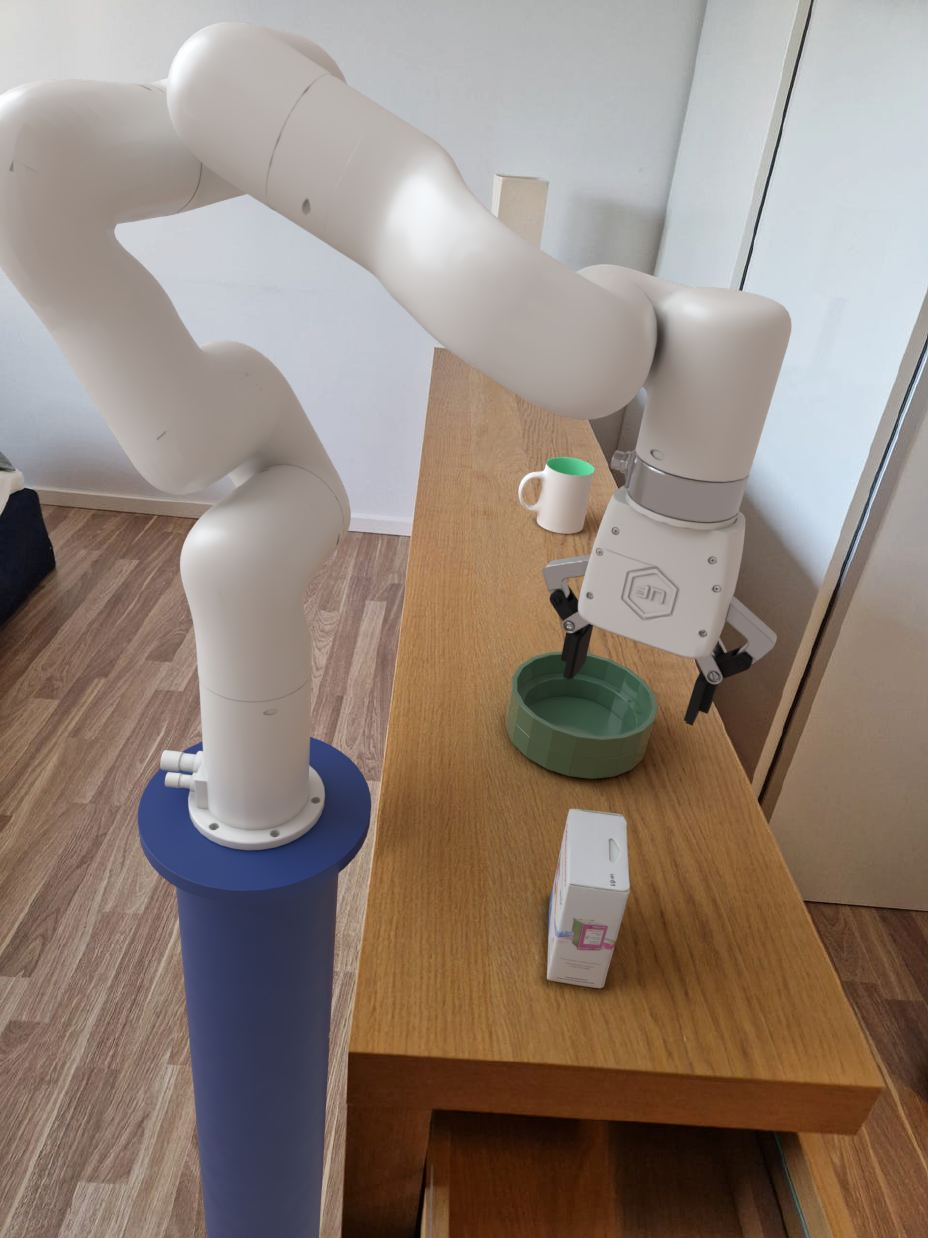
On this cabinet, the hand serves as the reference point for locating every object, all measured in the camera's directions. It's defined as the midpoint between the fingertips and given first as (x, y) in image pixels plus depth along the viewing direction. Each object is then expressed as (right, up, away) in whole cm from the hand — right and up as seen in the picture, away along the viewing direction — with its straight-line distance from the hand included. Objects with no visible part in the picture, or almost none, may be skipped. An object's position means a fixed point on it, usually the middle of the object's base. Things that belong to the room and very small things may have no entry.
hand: (631, 692), depth 67 cm
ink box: (-4, -22, +8) cm, 24 cm away
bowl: (0, -8, +33) cm, 34 cm away
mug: (+1, +22, +82) cm, 85 cm away
